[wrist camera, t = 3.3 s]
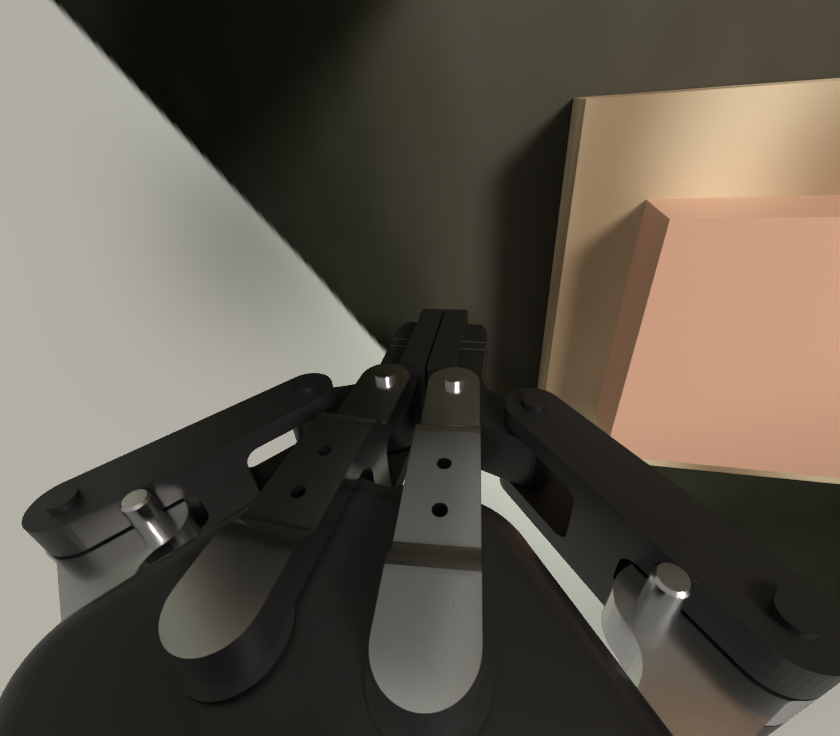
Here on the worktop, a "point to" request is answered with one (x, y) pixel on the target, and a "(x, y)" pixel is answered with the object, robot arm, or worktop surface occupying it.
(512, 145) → the worktop surface
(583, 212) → the oak board
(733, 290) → the terracotta coaster
